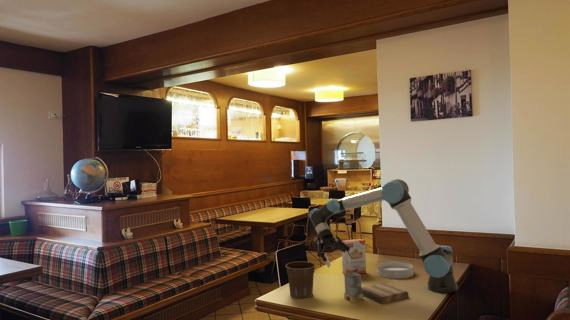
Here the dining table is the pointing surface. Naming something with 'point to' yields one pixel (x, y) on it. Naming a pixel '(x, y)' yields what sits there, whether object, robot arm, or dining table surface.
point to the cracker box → (355, 257)
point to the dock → (383, 292)
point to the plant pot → (300, 278)
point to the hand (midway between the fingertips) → (340, 264)
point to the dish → (395, 269)
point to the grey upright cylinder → (353, 287)
